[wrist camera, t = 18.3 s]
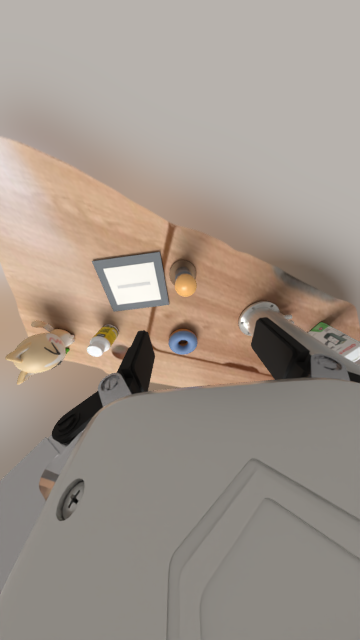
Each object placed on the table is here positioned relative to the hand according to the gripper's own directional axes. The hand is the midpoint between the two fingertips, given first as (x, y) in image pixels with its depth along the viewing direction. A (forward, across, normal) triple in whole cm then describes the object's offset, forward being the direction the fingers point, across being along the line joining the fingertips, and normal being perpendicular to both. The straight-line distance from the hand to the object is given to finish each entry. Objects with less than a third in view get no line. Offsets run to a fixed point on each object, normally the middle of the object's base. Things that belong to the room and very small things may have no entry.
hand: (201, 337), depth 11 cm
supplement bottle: (+27, +27, +14) cm, 41 cm away
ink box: (+28, -44, +26) cm, 58 cm away
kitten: (+27, +43, +14) cm, 52 cm away
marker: (+26, +1, 0) cm, 26 cm away
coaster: (+27, +1, 0) cm, 27 cm away
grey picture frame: (+27, +14, 0) cm, 30 cm away
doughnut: (+28, +3, +21) cm, 35 cm away
